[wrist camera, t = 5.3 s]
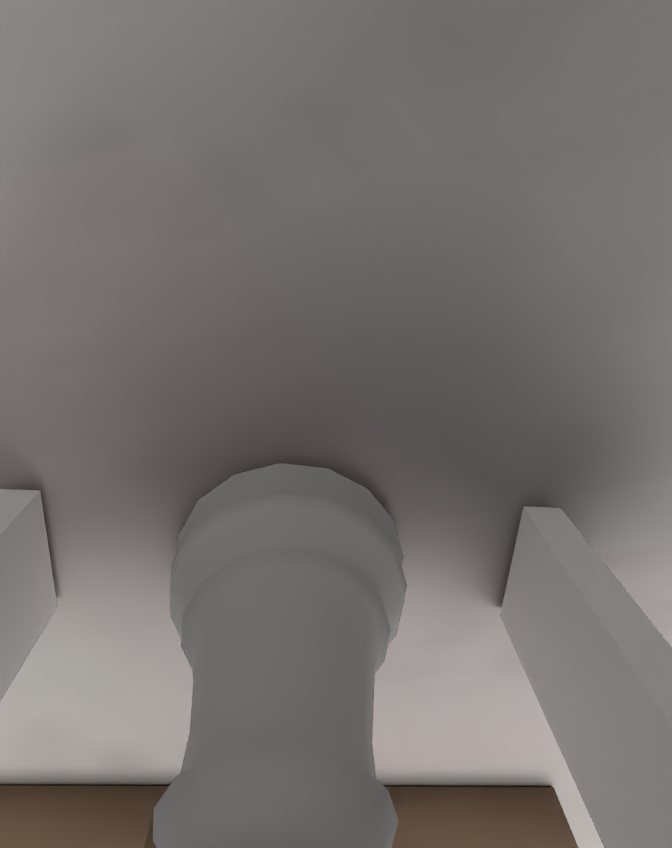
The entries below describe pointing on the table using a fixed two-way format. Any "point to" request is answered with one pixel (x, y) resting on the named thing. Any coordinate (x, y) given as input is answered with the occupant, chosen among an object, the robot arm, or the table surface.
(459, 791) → the socket board
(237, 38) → the table surface
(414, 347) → the table surface
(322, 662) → the rook chess piece
